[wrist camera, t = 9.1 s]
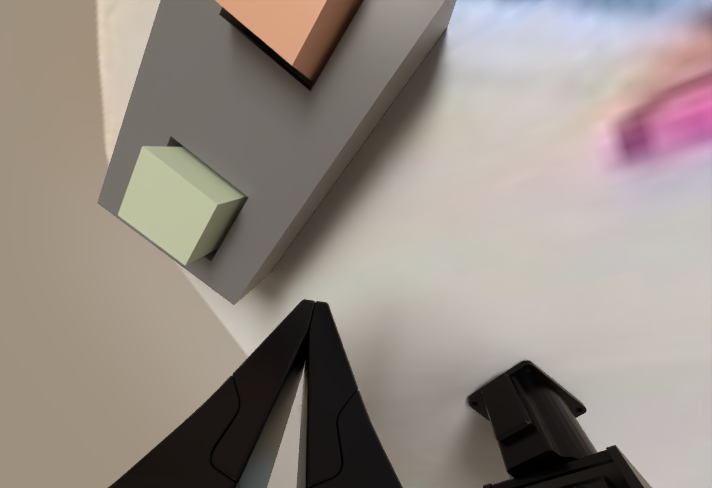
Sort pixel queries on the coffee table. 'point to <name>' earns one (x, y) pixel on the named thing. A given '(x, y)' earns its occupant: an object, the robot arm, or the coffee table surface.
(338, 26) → the terracotta key
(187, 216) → the sage key
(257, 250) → the keypad
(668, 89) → the coffee table surface
